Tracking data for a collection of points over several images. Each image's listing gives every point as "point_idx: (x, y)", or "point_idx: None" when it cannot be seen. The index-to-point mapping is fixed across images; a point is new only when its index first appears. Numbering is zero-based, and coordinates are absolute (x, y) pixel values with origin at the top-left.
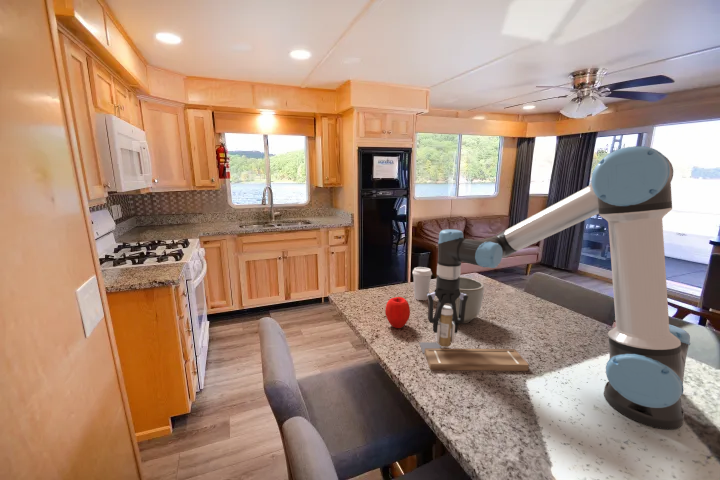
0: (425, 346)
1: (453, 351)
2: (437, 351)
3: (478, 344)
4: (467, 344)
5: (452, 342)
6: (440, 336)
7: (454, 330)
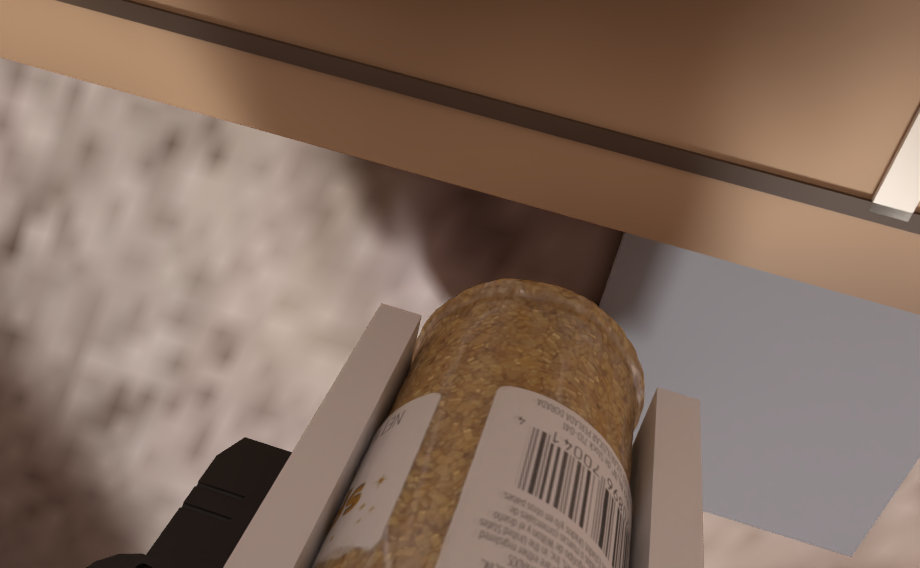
0: (833, 441)
1: (509, 89)
2: (846, 174)
3: (5, 264)
4: (152, 307)
5: (405, 317)
6: (626, 476)
7: (280, 485)
